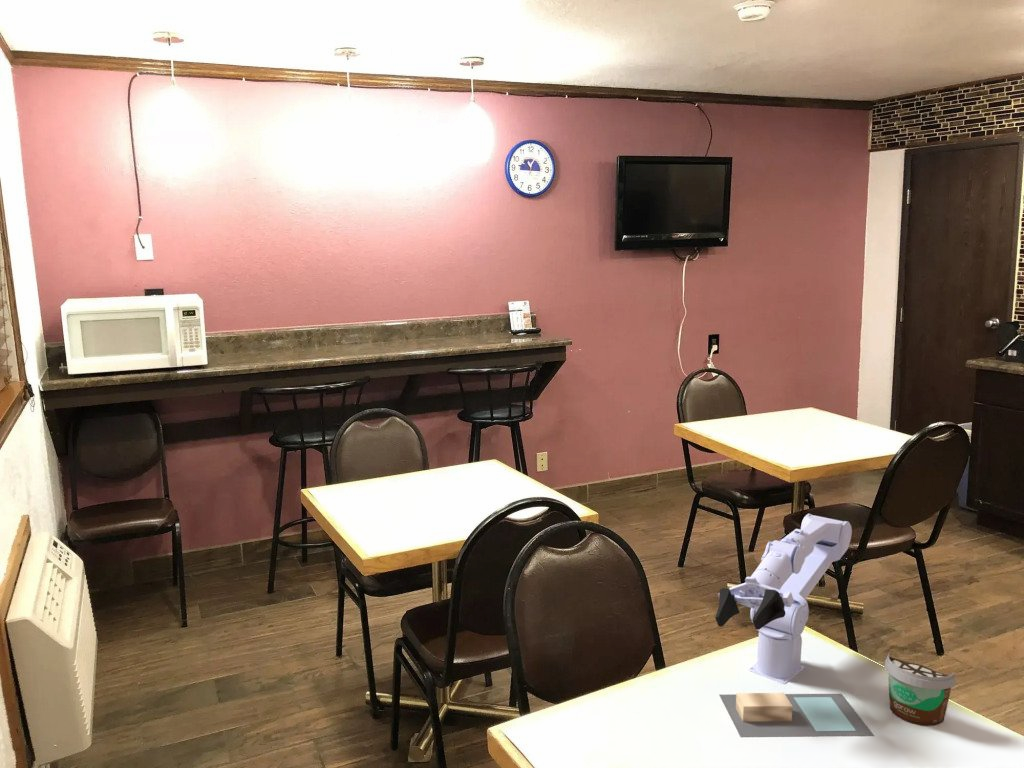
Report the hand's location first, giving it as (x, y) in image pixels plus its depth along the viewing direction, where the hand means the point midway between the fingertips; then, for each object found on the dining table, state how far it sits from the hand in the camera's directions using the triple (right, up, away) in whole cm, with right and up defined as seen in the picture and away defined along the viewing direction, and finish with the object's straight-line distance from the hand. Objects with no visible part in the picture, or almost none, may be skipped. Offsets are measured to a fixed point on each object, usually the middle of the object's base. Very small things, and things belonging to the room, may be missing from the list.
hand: (736, 623), depth 149 cm
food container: (+33, -18, +2) cm, 38 cm away
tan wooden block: (+6, -18, +2) cm, 19 cm away
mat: (+11, -18, +2) cm, 21 cm away
